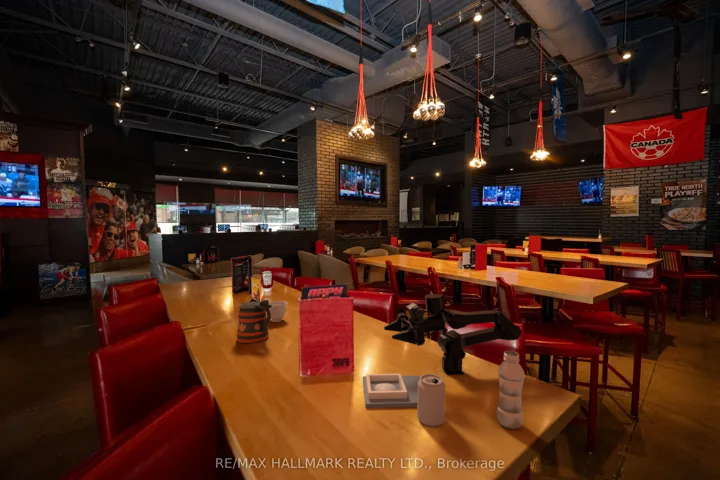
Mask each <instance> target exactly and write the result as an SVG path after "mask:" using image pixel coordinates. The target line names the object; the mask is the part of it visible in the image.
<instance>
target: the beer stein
mask: <svg viewBox="0 0 720 480" xmlns="http://www.w3.org/2000/svg"><path fill="white" fill-rule="evenodd" d="M269 302H270V301H269V299H263V300H261V301H249V302H242V301H241V304H240V305H239V306H238V309H239V311H238V318H237V321H238V325H237V330H236V341H237V342H238V343H240V344H253V343H259V342H262V341H265V340H267V339H268V338H269V336H270V334H269V325H270V323H271V320H272V319H271V313H270V310H269V308H272V305H269Z"/></svg>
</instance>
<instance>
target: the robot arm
mask: <svg viewBox="0 0 720 480" xmlns="http://www.w3.org/2000/svg"><path fill="white" fill-rule="evenodd" d="M424 300H425V308H426V312H427V313H429V315H426V316H425V314H426V312H425V309H423V308H421V307H419V306H418V305H417V304H416V303H414V302H411V303H409V304H408V305H406V306H405V309H406V310H407V312H408V314H409V316H408V315H406V314H405V313H404V312H400V313H398V314H397V315H396V318H395V320H394V321H392V322H390V323H388V324H387V325H384V327H383V330H384V331H389V332H390V331H391V332H396V333H394V334H391V339H392V340H396V341H400V342H403V343H408V344H412V345H414V346H417V347H419V346H423V345H424V344H425V342H426V336H430V333H432V332H437V331H438V332H439V333H440V334H439V335H438V338H437V345H438V346H439V348H440V350H441V351H442V352H443V354H442V355H443V356H442V357H441V369H442V370H443V371H444V374H446V375H447V376H449V375H450V376H451V375H464V374H465V373H464V371H463V359H465V358H466V355H467V353H466V352H465V351H464V349H465V348H467V347H470V346H474V345H475V346H476V345H478V344H484V343H488V342H492V341H496V340H503V341H517V340H519V339H520V337H521V336H522V328H521V327H520V326H519V325H518V324H515V323H514V322H513V321H512V320H510V319H509V318H508V317H506V316H505V314H504V313H503V312H501V311H499V310H497V309H490V310H479V311H478V310H477V311H460V310H455V309H446V308H445V307H446V306H445V295H443V294H441V293H439V294H436V293H435V294H434V293H429V294H428V293H427V294H426V295H424ZM488 323H490V324H491V323H493V326H492V327H488V328H483V329H478V330H474V331H469V332H468V331H467V332H465V333H460V332H458V331H456V330H459V329H463V328H466V327H467V326H469V325H476V324H477V325H478V324H488ZM446 326H448V327H450V328H451V330H449V329H448V328H447V327H446ZM425 335H426V336H425Z"/></svg>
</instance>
